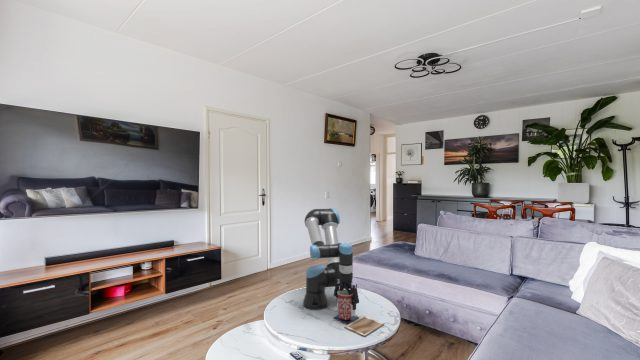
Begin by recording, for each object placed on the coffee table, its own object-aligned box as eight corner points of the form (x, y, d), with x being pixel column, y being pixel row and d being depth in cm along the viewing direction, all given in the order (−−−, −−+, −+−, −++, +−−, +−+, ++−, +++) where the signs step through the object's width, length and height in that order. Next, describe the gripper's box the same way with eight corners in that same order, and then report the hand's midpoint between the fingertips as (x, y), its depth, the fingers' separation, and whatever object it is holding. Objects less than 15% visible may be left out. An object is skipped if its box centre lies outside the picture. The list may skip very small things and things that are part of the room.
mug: (354, 321, 154) (354, 295, 154) (337, 320, 154) (337, 295, 155) (353, 310, 166) (353, 287, 167) (337, 310, 167) (337, 286, 167)
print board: (344, 328, 150) (344, 326, 150) (363, 317, 162) (363, 315, 162) (364, 337, 141) (364, 335, 141) (383, 325, 153) (383, 323, 153)
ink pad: (333, 318, 160) (333, 317, 160) (344, 313, 167) (344, 311, 167) (347, 325, 153) (347, 323, 153) (358, 318, 160) (358, 317, 160)
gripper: (327, 269, 165) (327, 308, 165) (357, 277, 150) (357, 321, 150) (335, 266, 171) (335, 304, 170) (366, 274, 155) (366, 316, 155)
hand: (346, 312), depth 160 cm, fingers closed on mug, 9 cm apart
